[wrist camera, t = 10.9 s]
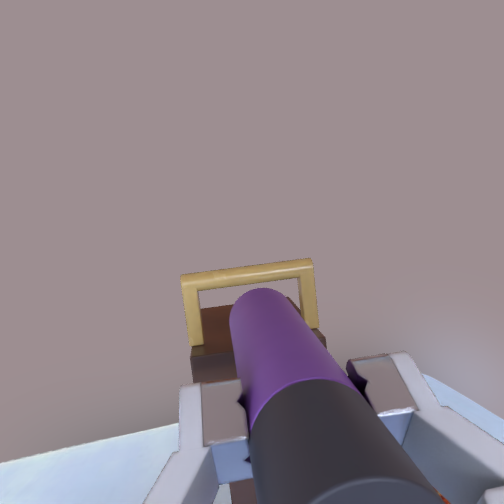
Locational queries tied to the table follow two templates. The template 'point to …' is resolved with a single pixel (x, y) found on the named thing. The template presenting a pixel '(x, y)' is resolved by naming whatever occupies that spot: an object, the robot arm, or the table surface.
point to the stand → (218, 329)
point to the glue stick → (312, 417)
